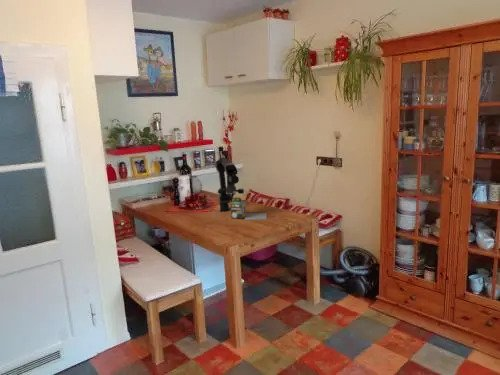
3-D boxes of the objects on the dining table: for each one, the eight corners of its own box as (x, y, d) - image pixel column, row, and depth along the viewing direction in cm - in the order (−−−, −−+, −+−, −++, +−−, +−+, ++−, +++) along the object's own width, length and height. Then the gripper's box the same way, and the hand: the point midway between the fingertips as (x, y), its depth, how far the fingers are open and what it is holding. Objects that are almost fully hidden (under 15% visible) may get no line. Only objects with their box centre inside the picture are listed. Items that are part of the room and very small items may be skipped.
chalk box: (246, 215, 278) (245, 196, 275) (242, 218, 269) (242, 199, 266) (234, 214, 280) (234, 195, 277) (230, 217, 272) (230, 198, 269)
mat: (244, 220, 267) (244, 219, 267) (245, 214, 282) (245, 213, 282) (266, 219, 266) (266, 219, 266) (266, 213, 281) (266, 213, 281)
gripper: (216, 183, 263) (217, 204, 265) (242, 183, 261) (242, 204, 264) (218, 180, 273) (219, 201, 276) (243, 180, 272) (244, 201, 275)
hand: (231, 202), depth 273 cm, fingers closed, pressing on chalk box
